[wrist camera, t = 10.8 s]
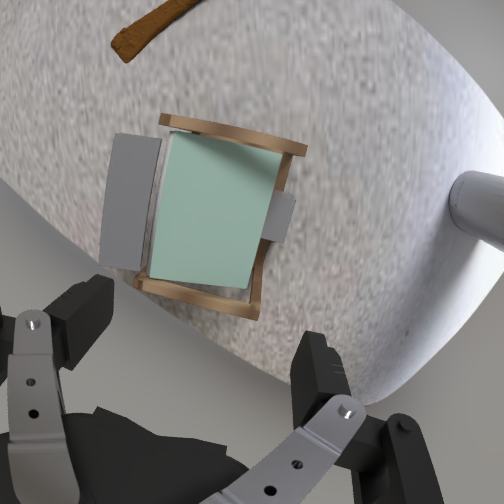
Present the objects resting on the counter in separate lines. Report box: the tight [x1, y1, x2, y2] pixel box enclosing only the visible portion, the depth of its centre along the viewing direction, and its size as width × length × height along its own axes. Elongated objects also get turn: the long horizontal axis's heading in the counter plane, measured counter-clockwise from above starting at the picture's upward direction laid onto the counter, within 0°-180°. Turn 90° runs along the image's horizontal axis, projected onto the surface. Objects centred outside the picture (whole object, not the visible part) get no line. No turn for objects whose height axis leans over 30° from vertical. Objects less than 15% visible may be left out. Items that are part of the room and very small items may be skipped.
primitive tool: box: [111, 0, 199, 63], centre depth 29 cm, size 19×6×4 cm, turn 126°
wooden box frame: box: [133, 113, 308, 321], centre depth 32 cm, size 13×17×13 cm
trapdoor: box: [99, 131, 282, 289], centre depth 28 cm, size 15×14×3 cm
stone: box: [260, 189, 296, 244], centre depth 36 cm, size 5×5×5 cm
